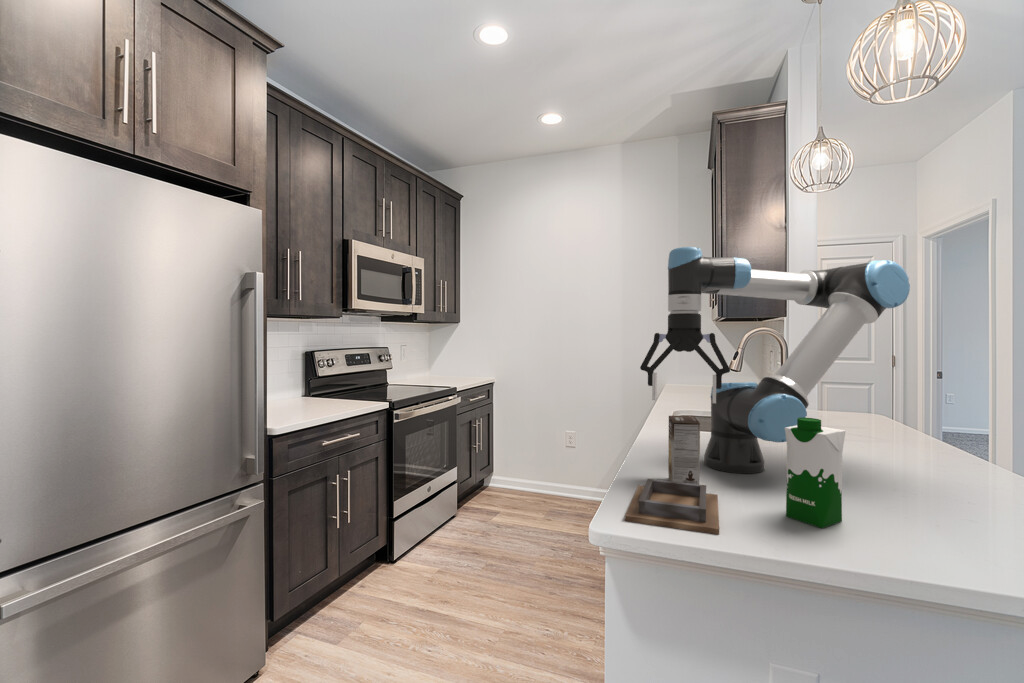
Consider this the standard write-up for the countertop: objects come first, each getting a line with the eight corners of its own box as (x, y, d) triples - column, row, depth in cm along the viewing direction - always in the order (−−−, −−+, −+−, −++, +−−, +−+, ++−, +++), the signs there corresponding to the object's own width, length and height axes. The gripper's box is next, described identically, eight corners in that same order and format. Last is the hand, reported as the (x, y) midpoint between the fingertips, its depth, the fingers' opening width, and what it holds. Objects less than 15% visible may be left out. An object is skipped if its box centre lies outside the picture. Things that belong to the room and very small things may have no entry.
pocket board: (717, 499, 107) (717, 483, 107) (719, 534, 88) (719, 515, 88) (638, 489, 113) (638, 474, 113) (625, 520, 95) (625, 503, 95)
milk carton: (778, 515, 97) (779, 416, 97) (804, 507, 102) (805, 413, 101) (824, 531, 90) (826, 424, 89) (850, 522, 94) (851, 419, 94)
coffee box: (667, 478, 122) (667, 414, 122) (694, 479, 121) (694, 415, 121) (671, 489, 113) (672, 421, 113) (700, 491, 112) (701, 422, 112)
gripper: (629, 313, 117) (628, 400, 118) (742, 311, 108) (741, 406, 109) (633, 314, 124) (633, 396, 125) (740, 312, 115) (739, 401, 116)
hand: (683, 401), depth 117 cm, fingers open, 13 cm apart
